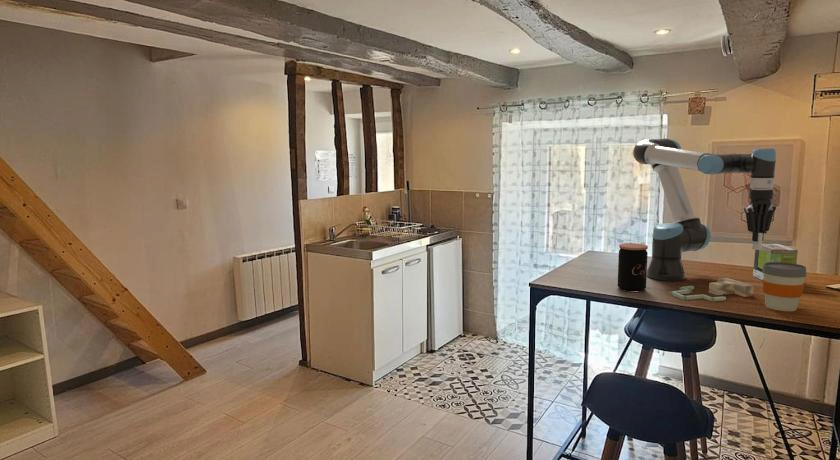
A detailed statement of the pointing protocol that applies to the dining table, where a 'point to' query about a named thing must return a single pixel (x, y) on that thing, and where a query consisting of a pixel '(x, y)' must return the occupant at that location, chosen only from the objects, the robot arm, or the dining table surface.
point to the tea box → (772, 257)
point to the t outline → (689, 290)
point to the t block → (730, 287)
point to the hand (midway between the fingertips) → (756, 249)
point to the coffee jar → (632, 267)
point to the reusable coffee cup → (783, 285)
